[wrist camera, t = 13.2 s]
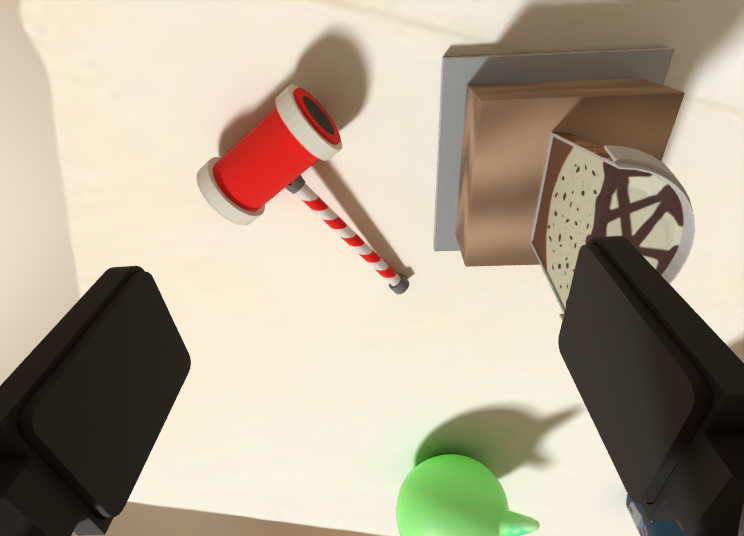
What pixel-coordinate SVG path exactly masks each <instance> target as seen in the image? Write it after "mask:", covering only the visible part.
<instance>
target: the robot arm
mask: <svg viewBox="0 0 744 536" xmlns="http://www.w3.org/2000/svg"><path fill="white" fill-rule="evenodd" d="M558 341H559V349H560V353H561V355H562V357H563V359H564V362H565V364H566V366H567V368H568V370H569V372H570V374H571V376H572V378H573V380H574V382H575V384H576V387H577V389H578V391H579V393H580V395H581V397H582V399H583V401H584V403H585V405H586V407H587V409H588V412H589V414H590V416H591V418H592V420H593V422H594V424H595V426H596V428H597V430H598V432H599V434H600V437H601V439H602V441H603V443H604V445H605V447H606V449H607V451H608V453H609V455H610V457H611V459H612V462H613V464H614V466H615V468H616V470H617V472H618V474H619V476H620V478H621V480H622V482H623V485H624V487H625V489H626V491H627V493H628V494H629V496H630V498H631V499H632V500H633V501H634V502H636V503H641V504H642V506H643V508H644V510H645V512H646V514H647V516H648V518H649V520H650V521H679V522H680V524H681V526H682V528H683V529H684V531H685V533H686V535H687V536H744V363H743V362H742V361H741V360H740V359H739V358H738V357H737V356H736V355H735V354H734V352H733V351H732V350H731V349H730V348H729V347H728V346H727V345H726V344H725V343H724V342H723V341H722V340H721V339H720V338H719V336H718V335H717V334H716V333H715V332H714V331H713V330H712V329H711V328H710V327H709V326H708V325H707V324H706V323H705V322H704V320H703V319H702V318H701V317H700V316H699V315H698V314H697V313H696V312H695V311H694V310H693V309H692V308H691V307H690V306H689V304H688V303H687V302H686V301H685V300H684V299H683V298H682V297H681V296H680V295H679V294H678V293H677V292H676V291H675V290H674V289H673V287H672V286H671V285H670V284H669V283H668V282H667V281H666V280H665V279H664V278H663V277H662V276H661V275H660V274H659V273H658V271H657V270H656V269H655V268H654V267H653V266H652V265H651V264H650V263H649V262H648V261H647V260H646V259H645V258H644V257H643V255H642V254H641V253H640V252H639V251H638V250H637V249H636V248H635V247H634V246H633V245H632V244H631V243H630V242H629V241H628V239H627V238H625V237H624V236H606V237H593V238H591V239H590V240H589V242H588V244H587V245H582V246H581V247H580V250H579V253H578V257H577V261H576V266H575V270H574V274H573V278H572V283H571V287H570V291H569V295H568V300H567V304H566V308H565V313H564V317H563V321H562V325H561V330H560V334H559V340H558ZM190 366H191V360H190V356H189V353H188V351H187V349H186V347H185V345H184V342H183V340H182V338H181V336H180V334H179V332H178V330H177V328H176V325H175V323H174V321H173V319H172V317H171V315H170V313H169V311H168V308H167V306H166V304H165V302H164V300H163V298H162V296H161V293H160V291H159V289H158V287H157V285H156V283H155V281H154V279H153V277H152V275H151V274H150V273H149V272H145V271H144V270H143V269H142V268H141V267H139V266H127V267H113V268H109V269H108V270H107V271H105V273H104V274H103V275H102V276H101V277H100V278H99V279H98V280H97V281H96V282H95V283H94V285H93V286H92V287H91V288H90V289H89V290H88V291H87V292H86V293H85V294H84V295H83V296H82V298H81V299H80V300H79V301H78V302H77V303H76V304H75V305H74V306H73V308H71V310H70V311H69V312H68V313H67V314H66V315H65V316H64V317H63V318H62V319H61V320H60V322H59V323H58V324H57V325H56V326H55V327H54V328H53V329H52V330H51V331H50V332H49V333H48V335H47V336H46V337H45V338H44V339H43V340H42V341H41V342H40V343H39V344H38V345H37V347H36V348H35V349H34V350H33V351H32V352H31V353H30V354H29V355H28V356H27V357H26V358H25V360H24V361H23V362H22V363H21V364H20V365H19V366H18V367H17V368H16V369H15V370H14V372H13V373H12V374H11V375H10V376H9V377H8V378H7V379H6V380H5V381H4V382H3V384H2V385H1V386H0V536H71V535H72V532H73V531H74V532H75V533H76V534H77V535H105V534H106V532H107V530H108V527H109V525H110V524H111V521H112V519H113V517H115V516H117V515H119V514H120V513H121V511H122V510H123V508H124V507H125V505H126V503H127V500H128V498H129V496H130V494H131V492H132V490H133V488H134V486H135V484H136V482H137V480H138V477H139V475H140V473H141V471H142V469H143V467H144V465H145V463H146V461H147V459H148V457H149V454H150V452H151V450H152V448H153V446H154V444H155V442H156V440H157V438H158V436H159V433H160V431H161V429H162V427H163V425H164V423H165V421H166V419H167V417H168V415H169V413H170V410H171V408H172V406H173V404H174V402H175V400H176V398H177V396H178V394H179V392H180V390H181V387H182V385H183V383H184V381H185V379H186V377H187V375H188V373H189V370H190Z"/></svg>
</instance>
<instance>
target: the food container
mask: <svg viewBox="0 0 744 536" xmlns="http://www.w3.org/2000/svg"><path fill="white" fill-rule="evenodd" d="M694 233H695V222H694V215H693V210H692V206H691V203H690V199H689V197H688V195H687V193H686V191H685V190H684V188H683V186H682V185H681V184H680V182H679V181H678V180H677V178H676V177H675V176H674V174H673V173H672V172H671V171H670V170H669V169H668V168H667V167H666V166H665V164H664V163H662V162H661V161H659V160H658V159H656V158H655V157H653V156H652V155H650V154H647V153H645V152H642V151H640V150H637V149H633V148H628V147H623V146H610V145H605V146H604V148H603V147H601V146H598V145H596V144H594V143H592V142H590V141H587V140H585V139H583V138H581V137H578V136H576V135H573V134H569V133H564V132H551V135H550V140H549V145H548V150H547V156H546V161H545V166H544V171H543V176H542V182H541V187H540V192H539V197H538V203H537V208H536V213H535V218H534V223H533V229H532V234H531V239H530V244H531V246H532V248H533V250H534V252H535V254H536V256H537V258H538V261H539V263H540V265H541V267H542V269H543V271H544V273H545V275H546V277H547V280H548V282H549V284H550V286H551V288H552V290H553V292H554V294H555V296H556V299H557V301H558V303H559V305H560V307H561V309H562V311H563V313H565V308H566V304H567V300H568V295H569V291H570V287H571V283H572V278H573V274H574V270H575V266H576V261H577V257H578V253H579V250H580V247H581V246H582V245H587V244H588V242H589V240H590V239H591V238H593V237H606V236H624V237H625V238H627V239H628V241H629V242H630V243H631V244H632V245H633V246H634V247H635V248H636V249H637V250H638V251H639V252H640V253H641V254H642V255H643V257H644V258H645V259H646V260H647V261H648V262H649V263H650V264H651V265H652V266H653V267H654V268H655V269H656V270H657V271H658V273H659V274H660V275H661V276H662V277H663V278H664V279H665V280H666V281H667V282H668V283H669V284H670V283H671V282H672V281H673V280H674V279H675V277H676V276H677V275H678V273H679V272H680V270H681V269H682V267H683V265H684V264H685V262H686V260H687V258H688V256H689V253H690V250H691V247H692V244H693V240H694ZM560 317H561V319H562V320H563V317H564V314H560Z"/></svg>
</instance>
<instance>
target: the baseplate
mask: <svg viewBox="0 0 744 536" xmlns="http://www.w3.org/2000/svg"><path fill="white" fill-rule="evenodd" d="M673 51H674V49H671V48H647V49H623V50H600V51H577V52H553V53H530V54H506V55H483V56H460V57H442V75H441V97H440V118H439V140H438V161H437V183H436V204H435V226H434V251H461V250H460V247H459V244H458V241H457V238H456V234H455V231H456V219H457V206H458V193H459V180H460V167H461V155H462V142H463V129H464V116H465V103H466V91H467V85H472V84H497V83H522V82H547V81H571V80H596V79H621V78H643V79H645V80H648V81H651V82H654V83H657V84H660V85H663V83H664V79H665V76H666V73H667V70H668V67H669V64H670V61H671V57H672V54H673Z"/></svg>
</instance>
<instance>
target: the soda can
mask: <svg viewBox="0 0 744 536" xmlns="http://www.w3.org/2000/svg"><path fill="white" fill-rule="evenodd" d="M626 505H627V508H628V510H629V512H630V514H631V516H632V518H633V521H634V523H635V525H636V527H637V529H638V531H639V533H640V535H641V536H687V535H686V533H685V531H684V529H683V528H682V526H681V524H680V522H679V521H650V520H649V518H648V516H647V514H646V512H645V510H644V508H643V506H642V504H641V503H636V502H634V501H633V500H632V499H631V498H630V496H629V494H627V500H626Z"/></svg>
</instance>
